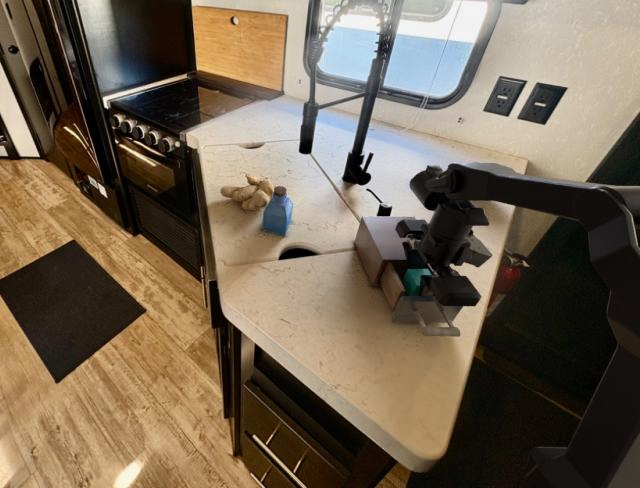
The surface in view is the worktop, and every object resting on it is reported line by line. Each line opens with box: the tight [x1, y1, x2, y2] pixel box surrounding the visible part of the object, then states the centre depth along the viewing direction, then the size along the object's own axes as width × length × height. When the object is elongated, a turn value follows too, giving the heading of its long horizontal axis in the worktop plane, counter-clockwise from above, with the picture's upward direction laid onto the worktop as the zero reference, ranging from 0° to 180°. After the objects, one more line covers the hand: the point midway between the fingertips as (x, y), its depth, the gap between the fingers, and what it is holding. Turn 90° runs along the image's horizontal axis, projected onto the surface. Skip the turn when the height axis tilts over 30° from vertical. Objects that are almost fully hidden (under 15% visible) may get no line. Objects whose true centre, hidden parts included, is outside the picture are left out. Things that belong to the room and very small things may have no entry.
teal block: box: [402, 269, 433, 296], centre depth 61 cm, size 4×4×4 cm
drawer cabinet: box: [353, 215, 417, 287], centre depth 71 cm, size 14×13×9 cm
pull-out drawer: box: [379, 262, 464, 338], centre depth 61 cm, size 17×11×7 cm, turn 0°
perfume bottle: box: [262, 185, 294, 237], centre depth 81 cm, size 6×6×12 cm
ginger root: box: [219, 173, 277, 211], centre depth 91 cm, size 16×16×8 cm
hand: (417, 286), depth 62 cm, fingers closed on teal block, 4 cm apart
